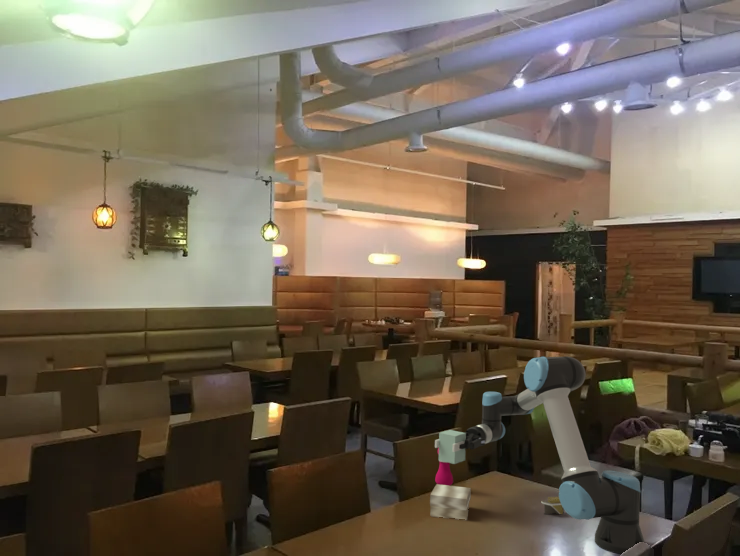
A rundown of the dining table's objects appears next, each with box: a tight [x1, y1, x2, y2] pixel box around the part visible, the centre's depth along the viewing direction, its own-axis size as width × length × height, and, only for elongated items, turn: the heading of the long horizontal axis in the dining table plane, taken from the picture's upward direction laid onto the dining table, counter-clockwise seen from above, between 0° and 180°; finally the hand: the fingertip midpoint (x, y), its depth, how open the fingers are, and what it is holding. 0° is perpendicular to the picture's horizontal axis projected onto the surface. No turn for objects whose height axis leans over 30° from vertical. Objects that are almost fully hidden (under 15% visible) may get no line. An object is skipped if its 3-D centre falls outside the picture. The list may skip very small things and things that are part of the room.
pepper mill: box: [434, 447, 454, 486], centre depth 254 cm, size 7×7×20 cm
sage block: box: [438, 429, 466, 465], centre depth 232 cm, size 7×7×10 cm
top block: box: [429, 483, 472, 510], centre depth 231 cm, size 13×13×4 cm
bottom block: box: [429, 503, 470, 521], centre depth 231 cm, size 13×13×4 cm
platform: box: [540, 496, 565, 515], centre depth 231 cm, size 12×18×7 cm, turn 104°
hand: (444, 446), depth 228 cm, fingers closed on sage block, 7 cm apart
